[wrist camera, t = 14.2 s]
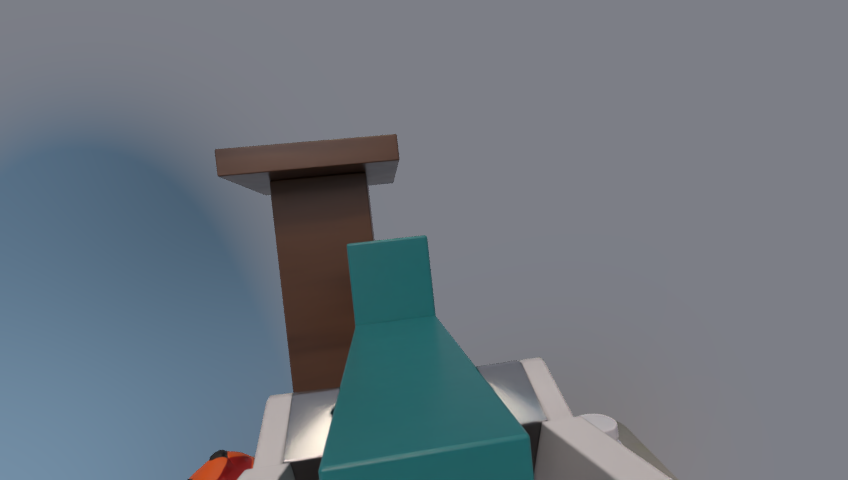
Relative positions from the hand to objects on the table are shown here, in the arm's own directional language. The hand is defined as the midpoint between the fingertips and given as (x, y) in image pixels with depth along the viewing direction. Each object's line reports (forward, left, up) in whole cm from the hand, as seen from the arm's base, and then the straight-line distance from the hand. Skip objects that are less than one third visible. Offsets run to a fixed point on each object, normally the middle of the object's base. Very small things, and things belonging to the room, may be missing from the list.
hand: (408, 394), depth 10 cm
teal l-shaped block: (+4, 0, -1) cm, 5 cm away
